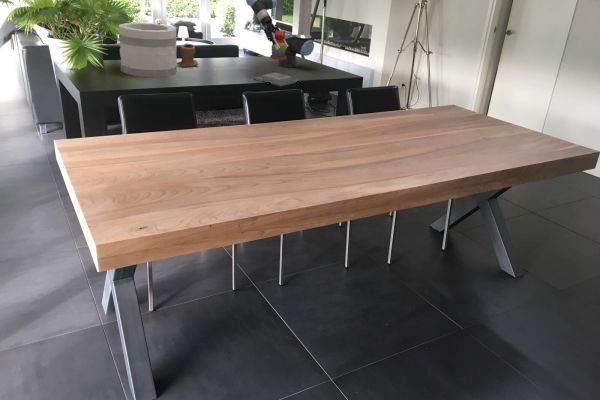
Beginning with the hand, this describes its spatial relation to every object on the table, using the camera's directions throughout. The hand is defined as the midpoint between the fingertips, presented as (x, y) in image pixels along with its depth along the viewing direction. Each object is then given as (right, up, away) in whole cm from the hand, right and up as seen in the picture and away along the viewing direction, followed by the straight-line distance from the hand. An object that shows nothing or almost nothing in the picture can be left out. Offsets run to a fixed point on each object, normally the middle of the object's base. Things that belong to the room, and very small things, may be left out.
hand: (282, 48), depth 325 cm
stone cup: (-66, -6, +25) cm, 71 cm away
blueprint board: (-4, -19, +11) cm, 22 cm away
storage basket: (-87, -15, 0) cm, 88 cm away
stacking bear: (-3, -6, +5) cm, 8 cm away
